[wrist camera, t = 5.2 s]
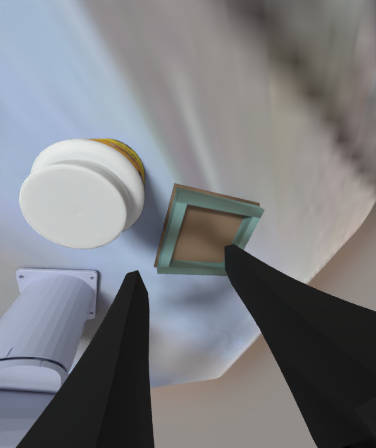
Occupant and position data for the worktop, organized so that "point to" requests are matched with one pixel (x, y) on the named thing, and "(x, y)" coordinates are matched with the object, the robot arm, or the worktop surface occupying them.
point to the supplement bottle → (84, 192)
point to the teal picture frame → (203, 231)
